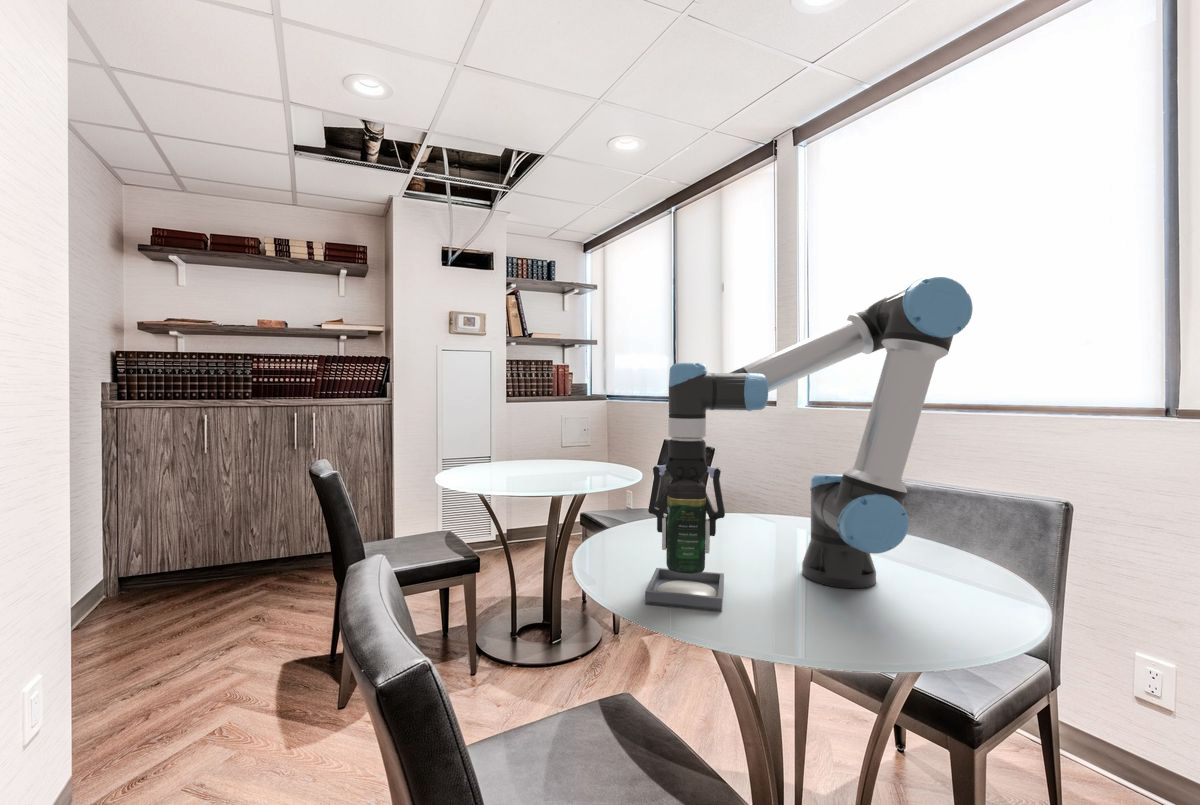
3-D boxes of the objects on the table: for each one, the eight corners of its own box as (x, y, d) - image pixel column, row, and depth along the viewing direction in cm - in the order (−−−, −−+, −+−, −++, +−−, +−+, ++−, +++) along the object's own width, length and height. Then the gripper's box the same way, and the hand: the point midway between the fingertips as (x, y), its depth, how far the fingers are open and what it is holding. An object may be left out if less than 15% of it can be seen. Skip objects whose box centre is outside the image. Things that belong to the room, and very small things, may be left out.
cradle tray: (723, 584, 114) (723, 573, 114) (721, 611, 100) (721, 598, 100) (656, 578, 118) (656, 567, 118) (645, 604, 104) (645, 591, 104)
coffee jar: (707, 576, 104) (708, 481, 103) (666, 574, 105) (667, 480, 104) (703, 561, 113) (704, 474, 113) (666, 559, 114) (666, 473, 114)
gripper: (739, 438, 110) (738, 548, 110) (639, 436, 115) (639, 541, 115) (739, 441, 102) (738, 559, 103) (633, 439, 108) (632, 550, 108)
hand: (686, 549), depth 109 cm, fingers closed on coffee jar, 8 cm apart
